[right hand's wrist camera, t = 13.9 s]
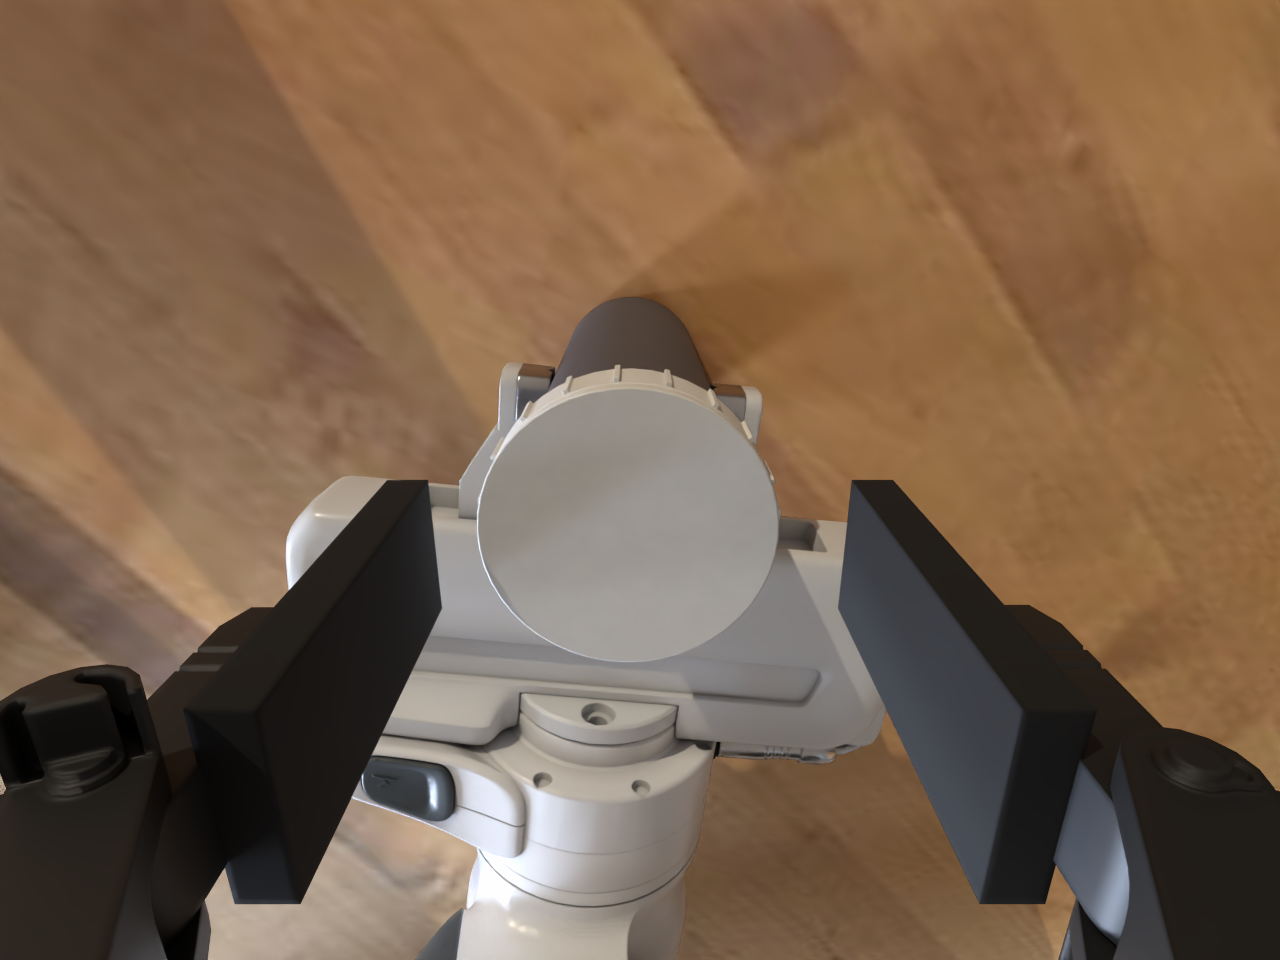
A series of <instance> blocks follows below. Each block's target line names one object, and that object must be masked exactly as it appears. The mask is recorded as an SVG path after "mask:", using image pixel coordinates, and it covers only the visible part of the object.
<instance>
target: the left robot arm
mask: <svg viewBox="0 0 1280 960" xmlns="http://www.w3.org/2000/svg"><path fill="white" fill-rule="evenodd" d="M554 377H555V367H550V366H542V365H534V364H525V363H518V362H507V364H506V365H505V367H504V368H503V369H502V374H501V380H500V390H499V415H498V422H497V424H496V425H495V427H494V428H493V430H492V431H491V433H490V434H489V436H488V437H487V439H486V440H485V442H484V443H483V445H482V446H481V448H480V449H479V450H478V452H477V453H476V455H475V456H474V458H473V459H472V461H471V463H470V464H469V466H468V468H467V469H466V471H465V473H464V474H463V476H462V477H461V479H460V481H459V485H448V484H438V483H428V484H429V493H430V502H431V511H432V521H433V530H434V539H435V548H436V557H437V566H438V575H439V584H440V593H441V603H442V610H441V612H440V614H439V616H438V618H437V620H436V622H435V624H434V627H433V629H432V631H431V633H430V635H429V637H428V639H427V641H426V643H425V645H424V647H423V649H422V652H421V654H420V656H419V658H418V660H417V662H416V664H415V666H414V668H413V670H412V672H411V674H410V677H409V679H408V681H407V683H406V685H405V687H404V689H403V691H402V693H401V695H400V697H399V700H398V702H397V704H396V706H395V708H394V710H393V712H392V714H391V716H390V718H389V720H388V722H387V725H386V727H385V729H384V731H383V733H382V735H381V737H380V739H379V741H378V743H377V745H376V747H375V750H374V752H373V754H372V756H371V758H370V760H369V762H368V764H367V766H366V768H365V770H364V772H363V775H362V777H361V779H360V781H359V783H358V785H357V787H356V789H355V791H354V793H353V795H352V797H351V798H353V799H356V800H359V801H362V802H365V803H368V804H371V805H374V806H378V807H381V808H384V809H387V810H390V811H393V812H396V813H398V814H401V815H404V816H407V817H410V818H412V819H415V820H418V821H421V822H423V823H425V824H428V825H430V826H433V827H435V828H438V829H440V830H442V831H444V832H447V833H449V834H451V835H453V836H455V837H457V838H459V839H461V840H463V841H465V842H467V843H469V844H471V845H473V846H475V847H476V848H477V851H478V856H477V859H476V861H475V864H474V866H473V870H472V873H471V877H470V882H469V889H468V896H467V910H464V909H463V908H461V909H460V910H459V911H458V912H456V913H455V914H454V915H453V916H452V917H451V918H449V919H448V920H447V921H446V923H445V924H444V925H443V926H442V927H441V928H440V929H439V930H438V931H437V933H436V934H435V935H434V936H433V938H432V939H431V940H430V942H429V943H428V944H427V945H426V947H425V948H424V949H423V950H422V952H421V953H420V954H419V955H418V957H417V958H416V959H415V960H676V958H677V954H678V950H679V945H680V940H681V935H682V930H683V925H684V920H685V910H686V887H685V880H684V876H683V875H684V874H685V872H686V870H687V868H688V867H689V865H690V863H691V861H692V859H693V856H694V853H695V850H696V847H697V844H698V841H699V835H700V829H701V824H702V818H703V812H704V807H705V801H706V796H707V790H708V785H709V780H710V775H711V768H712V762H713V759H715V756H716V757H726V758H738V759H751V760H764V759H765V760H768V759H771V758H772V759H778V758H779V759H787V760H797V762H799V763H804V764H814V765H818V764H828V763H832V762H833V761H834V760H835V756H836V755H840V754H846V753H849V752H853V751H855V750H857V749H859V748H861V747H863V746H867V745H870V744H872V743H873V742H874V740H875V739H876V738H877V736H878V734H879V732H880V730H881V727H882V723H883V720H884V716H885V713H886V708H885V706H884V704H883V702H882V700H881V697H880V695H879V693H878V691H877V689H876V687H875V685H874V683H873V681H872V679H871V677H870V674H869V672H868V670H867V668H866V666H865V664H864V662H863V660H862V658H861V656H860V654H859V652H858V649H857V647H856V645H855V643H854V641H853V639H852V637H851V635H850V633H849V631H848V629H847V627H846V624H845V622H844V620H843V618H842V616H841V614H840V612H839V610H838V603H839V593H840V584H841V575H842V566H843V557H844V548H845V539H846V530H847V522H837V521H826V520H816V519H805V518H795V517H784V516H780V515H781V511H780V509H779V506H778V511H779V540H778V545H777V551H776V556H775V559H774V562H773V565H772V568H771V571H770V574H769V576H768V578H767V580H766V582H765V584H764V586H763V588H762V589H761V591H760V592H759V594H758V595H757V597H756V598H755V600H754V601H753V603H752V604H751V605H750V607H749V608H748V609H747V610H746V611H745V612H744V613H743V615H742V616H741V617H740V618H739V619H738V620H736V621H735V622H734V623H733V624H732V625H731V626H730V627H729V628H727V629H726V630H725V631H723V632H722V633H720V634H719V635H717V636H716V637H714V638H713V639H711V640H709V641H708V642H706V643H704V644H702V645H700V646H698V647H696V648H694V649H691V650H689V651H686V652H683V653H681V654H678V655H674V656H670V657H666V658H663V659H657V660H650V661H642V662H617V661H606V660H600V659H595V658H590V657H586V656H583V655H580V654H576V653H573V652H570V651H568V650H566V649H563V648H561V647H559V646H556V645H554V644H553V643H551V642H549V641H547V640H546V639H544V638H542V637H541V636H539V635H538V634H536V633H535V632H534V631H532V630H531V629H530V628H528V627H527V626H526V625H524V624H523V623H522V622H521V621H520V620H519V619H518V618H517V617H516V616H515V615H514V614H513V613H512V612H511V611H510V610H509V608H508V607H507V606H506V605H505V603H504V602H503V601H502V600H501V598H500V597H499V595H498V593H497V592H496V590H495V588H494V587H493V585H492V583H491V581H490V579H489V577H488V574H487V572H486V570H485V568H484V565H483V561H482V558H481V554H480V550H479V544H478V536H477V510H478V503H477V501H478V497H479V495H480V493H481V490H482V487H483V484H484V481H485V478H486V475H487V473H488V471H489V469H490V467H491V465H492V463H493V461H494V460H492V459H490V457H491V455H492V453H493V452H494V450H495V448H496V446H497V444H498V442H499V440H500V439H501V437H503V438H506V436H507V434H508V433H509V432H510V430H511V429H512V427H513V426H514V424H515V423H516V421H517V420H518V419H519V418H520V417H521V415H522V413H523V411H524V409H525V407H526V405H527V403H528V402H529V401H531V402H532V403H533V404H534V403H535V402H536V401H537V400H538V399H539V398H541V397H542V396H543V395H545V394H546V393H548V391H549V388H550V386H551V384H552V381H553V379H554ZM710 388H711V389H712V390H713V391H714V392H715V395H716V397H717V399H719V400H720V401H721V402H722V403H723V404H724V405H725V406H726V407H728V408H729V409H730V410H731V411H732V412H733V413H734V414H735V416H736V417H737V418H738V419H739V421H740V422H743V421H744V420H745V421H746V423H747V424H748V426H749V428H750V430H751V432H752V434H753V437H754V439H755V441H754V444H755V446H756V444H757V438H758V432H759V426H760V421H761V415H762V395H761V393H760V392H759V390H758V389H757V387H749V386H741V385H729V384H718V383H711V384H710ZM387 480H396V479H386V478H376V477H366V476H354V475H353V476H344V477H342V478H340V479H338V480H337V481H335V482H334V483H333V484H332V485H330V486H329V487H328V488H327V489H326V490H324V491H323V492H322V493H321V494H320V495H318V496H317V497H316V498H315V499H314V500H313V501H312V502H311V503H310V504H309V505H308V506H307V507H306V508H305V510H304V511H303V512H302V513H301V514H300V515H299V517H298V518H297V519H296V521H295V522H294V524H293V525H292V527H291V529H290V531H289V534H288V537H287V542H286V567H287V579H288V588H289V590H290V589H291V587H292V586H293V585H294V584H295V583H296V582H297V581H298V580H299V578H300V577H301V576H302V575H303V574H304V573H305V572H306V571H307V570H308V568H309V567H310V566H311V565H312V564H313V563H314V562H315V561H316V559H317V558H318V557H319V556H320V555H321V554H322V553H323V552H324V550H325V549H326V548H327V547H328V546H329V545H330V544H331V543H332V541H333V540H334V539H335V538H336V537H337V536H338V535H339V534H340V532H341V531H342V530H343V529H344V528H345V527H346V526H347V525H348V523H349V522H350V521H351V520H352V519H353V518H354V517H355V516H356V514H357V513H358V512H359V511H360V510H361V509H362V508H363V507H364V505H365V504H366V503H367V502H368V501H369V500H370V499H371V498H372V496H373V495H374V494H375V493H376V492H377V491H378V490H379V489H380V487H381V486H382V485H383V484H384V483H385V482H386V481H387Z"/></svg>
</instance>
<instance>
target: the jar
mask: <svg viewBox="0 0 1280 960" xmlns="http://www.w3.org/2000/svg"><path fill="white" fill-rule="evenodd" d="M615 365H620V366H621V369H629V368H634V369H645V370H653V371H658V372H662V373H664V370H665V369H667V370H670V374H671V375H673V376H676V377H679V378H682V379H684V380H687V381H689V382H691V383H693V384H695V385H697V386H699V387H701V388H703V389H705V390H706V391H707V392H708V390H709V389H711V388H710V386H709V383H708V381H707V378H706V375H705V373H704V370H703V368H702V365H701V363H700V360H699V357H698V355H697V352H696V350H695V347H694V345H693V342H692V339H691V337H690V335H689V333H688V331H687V329H686V327H685V326H684V324H683V323H682V322H681V320H680V319H679V318H678V317H677V316H676V315H675V314H674V313H673V312H672V311H670V310H669V309H667V308H666V307H665V306H663V305H661V304H659V303H657V302H654V301H652V300H648V299H644V298H637V297H624V298H618V299H614V300H611V301H607V302H605V303H603V304H601V305H599V306H598V307H596V308H594V309H593V310H592V311H590V312H589V313H588V314H587V315H586V316H585V317H584V318H583V319H582V320H581V321H580V323H579V324H578V326H577V327H576V329H575V331H574V333H573V335H572V337H571V339H570V342H569V344H568V346H567V349H566V351H565V353H564V356H563V358H562V360H561V363H560V365H559V367H558V370H557V372H556V374H555V377H554V379H553V381H552V384H551V386H550V388H549V391H551V390H553V389H554V388H556V387H557V386H559V385H561V384H564V383H565V382H566V379H567V377H569V376H572V377H573V379H574V378H577V377H580V376H584V375H587V374H590V373H593V372H599V371H605V370H611V369H615ZM549 391H548V392H549Z"/></svg>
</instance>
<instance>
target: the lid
mask: <svg viewBox="0 0 1280 960" xmlns="http://www.w3.org/2000/svg"><path fill="white" fill-rule="evenodd" d="M754 441H755V439H754V437H753V434H752V432H751V430H750V428H749V426H748V424H747V423H746V421H745V420H744V421H743V422H740V421H739V419H738V418H737V417H736V416H735V414H734V413H733V412H732V411H731V410H730V409H729V408H728V407H726V406H725V405H724V404H723V403H722V402H721V401H720V400H719V399H717V397H716V395H715V392H714V391H713V390H712V389H709V390H708V392H707V391H706V390H705V389H703V388H701V387H699V386H697V385H695V384H693V383H691V382H689V381H687V380H684V379H682V378H679V377H676V376H673V375H671V374H670V370H667V369H665V370H664V373H662V372H658V371H653V370H645V369H634V368H629V369H621V366H620V365H615V369H611V370H605V371H599V372H593V373H590V374H587V375H584V376H580V377H577V378H574V379H573V377H572V376H569V377H567V379H566V382H565V383H564V384H561V385H559V386H557V387H556V388H554V389H553V390H551V391H549V392H548V393H546V394H545V395H543V396H542V397H541V398H539V399H538V400H537V401H536V402H535V403H534V404H533V403H532V402H531V401H529V402H528V403H527V405H526V407H525V409H524V411H523V413H522V415H521V417H520V418H519V419H518V420H517V421H516V423H515V424H514V426H513V427H512V429H511V430H510V432H509V433H508V434H507V436H506V438H503V437H501V439H500V440H499V442H498V444H497V446H496V448H495V450H494V452H493V453H492V455H491V457H490V459H492V460H494V461H493V463H492V465H491V467H490V469H489V471H488V473H487V475H486V478H485V481H484V484H483V487H482V490H481V493H480V495H479V497H478V501H477V503H478V510H477V536H478V544H479V550H480V554H481V558H482V561H483V565H484V568H485V570H486V572H487V574H488V577H489V579H490V581H491V583H492V585H493V587H494V588H495V590H496V592H497V593H498V595H499V597H500V598H501V600H502V601H503V602H504V603H505V605H506V606H507V607H508V608H509V610H510V611H511V612H512V613H513V614H514V615H515V616H516V617H517V618H518V619H519V620H520V621H521V622H522V623H523V624H524V625H526V626H527V627H528V628H530V629H531V630H532V631H534V632H535V633H536V634H538V635H539V636H541V637H542V638H544V639H546V640H547V641H549V642H551V643H553V644H554V645H556V646H559V647H561V648H563V649H566V650H568V651H570V652H573V653H576V654H580V655H583V656H586V657H590V658H595V659H600V660H606V661H617V662H642V661H650V660H657V659H663V658H666V657H670V656H674V655H678V654H681V653H683V652H686V651H689V650H691V649H694V648H696V647H698V646H700V645H702V644H704V643H706V642H708V641H709V640H711V639H713V638H714V637H716V636H717V635H719V634H720V633H722V632H723V631H725V630H726V629H727V628H729V627H730V626H731V625H732V624H733V623H734V622H735V621H736V620H738V619H739V618H740V617H741V616H742V615H743V613H744V612H745V611H746V610H747V609H748V608H749V607H750V605H751V604H752V603H753V601H754V600H755V598H756V597H757V595H758V594H759V592H760V591H761V589H762V588H763V586H764V584H765V582H766V580H767V578H768V576H769V574H770V571H771V568H772V565H773V562H774V559H775V556H776V551H777V545H778V540H779V511H778V502H777V498H776V494H775V491H774V487H773V484H776V483H775V480H774V477H773V475H772V473H771V471H770V469H769V467H768V465H767V463H766V461H762V458H761V456H760V454H759V452H758V450H757V448H756V446H755V444H754Z"/></svg>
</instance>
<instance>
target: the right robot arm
mask: <svg viewBox="0 0 1280 960" xmlns="http://www.w3.org/2000/svg"><path fill="white" fill-rule="evenodd" d="M441 610H442V603H441V593H440V584H439V575H438V566H437V557H436V548H435V539H434V530H433V521H432V511H431V502H430V493H429V484H428V480H387V481H386V482H385V483H384V484H383V485H382V486H381V487H380V489H379V490H378V491H377V492H376V493H375V494H374V495H373V496H372V498H371V499H370V500H369V501H368V502H367V503H366V504H365V505H364V507H363V508H362V509H361V510H360V511H359V512H358V513H357V514H356V516H355V517H354V518H353V519H352V520H351V521H350V522H349V523H348V525H347V526H346V527H345V528H344V529H343V530H342V531H341V532H340V534H339V535H338V536H337V537H336V538H335V539H334V540H333V541H332V543H331V544H330V545H329V546H328V547H327V548H326V549H325V550H324V552H323V553H322V554H321V555H320V556H319V557H318V558H317V559H316V561H315V562H314V563H313V564H312V565H311V566H310V567H309V568H308V570H307V571H306V572H305V573H304V574H303V575H302V576H301V577H300V578H299V580H298V581H297V582H296V583H295V584H294V585H293V586H292V587H291V589H290V590H289V591H288V592H287V593H286V594H285V595H284V596H283V598H282V599H281V600H280V601H279V602H278V603H277V604H276V605H275V607H252V608H250V609H248V610H246V611H245V612H243V613H241V614H240V615H238V616H236V617H234V618H233V619H231V620H229V621H227V622H226V623H224V624H222V625H221V626H219V627H218V628H217V629H216V630H215V631H214V632H213V633H212V634H211V635H210V636H209V637H208V638H207V639H206V640H205V641H204V642H203V643H202V644H201V646H200V647H199V648H198V652H197V653H193V654H192V655H191V656H190V657H189V658H188V659H187V660H186V661H185V662H184V663H183V664H182V665H181V666H180V670H179V671H175V672H174V673H173V674H172V675H171V676H170V677H169V678H168V679H167V680H166V681H165V682H164V683H163V684H162V685H161V686H160V687H159V688H158V690H157V691H156V692H155V693H154V694H153V695H152V696H151V697H150V698H149V699H148V700H147V699H146V695H145V692H144V688H143V685H142V681H141V678H140V675H139V674H137V673H136V672H134V671H133V670H131V669H130V668H128V667H123V666H115V665H97V666H88V667H80V668H76V669H72V670H69V671H65V672H61V673H58V674H54V675H50V676H48V677H46V678H43V679H41V680H39V681H36V682H34V683H32V684H29V685H27V686H25V687H23V688H20V689H19V690H17V691H16V692H14V693H12V694H11V695H9V696H8V697H6V698H5V699H3V700H2V701H0V774H1V777H2V779H3V782H4V784H5V787H6V790H5V792H4V794H2V795H0V960H207V959H208V951H209V943H210V935H211V927H210V921H209V914H208V911H207V907H206V904H205V899H206V897H207V895H208V894H209V892H210V890H211V889H212V887H213V886H214V884H215V882H216V881H217V879H218V877H219V876H220V874H221V873H222V871H223V869H224V868H225V869H226V873H227V877H228V880H229V884H230V888H231V892H232V895H233V899H234V903H235V904H301V902H302V900H303V898H304V895H305V893H306V891H307V889H308V887H309V885H310V883H311V881H312V879H313V877H314V875H315V873H316V870H317V868H318V866H319V864H320V862H321V860H322V858H323V856H324V854H325V852H326V850H327V848H328V845H329V843H330V841H331V839H332V837H333V835H334V833H335V831H336V829H337V827H338V825H339V823H340V820H341V818H342V816H343V814H344V812H345V810H346V808H347V806H348V804H349V802H350V800H351V797H352V795H353V793H354V791H355V789H356V787H357V785H358V783H359V781H360V779H361V777H362V775H363V772H364V770H365V768H366V766H367V764H368V762H369V760H370V758H371V756H372V754H373V752H374V750H375V747H376V745H377V743H378V741H379V739H380V737H381V735H382V733H383V731H384V729H385V727H386V725H387V722H388V720H389V718H390V716H391V714H392V712H393V710H394V708H395V706H396V704H397V702H398V700H399V697H400V695H401V693H402V691H403V689H404V687H405V685H406V683H407V681H408V679H409V677H410V674H411V672H412V670H413V668H414V666H415V664H416V662H417V660H418V658H419V656H420V654H421V652H422V649H423V647H424V645H425V643H426V641H427V639H428V637H429V635H430V633H431V631H432V629H433V627H434V624H435V622H436V620H437V618H438V616H439V614H440V612H441ZM838 610H839V612H840V614H841V616H842V618H843V620H844V622H845V624H846V627H847V629H848V631H849V633H850V635H851V637H852V639H853V641H854V643H855V645H856V647H857V649H858V652H859V654H860V656H861V658H862V660H863V662H864V664H865V666H866V668H867V670H868V672H869V674H870V677H871V679H872V681H873V683H874V685H875V687H876V689H877V691H878V693H879V695H880V697H881V700H882V702H883V704H884V706H885V708H886V710H887V712H888V714H889V716H890V718H891V720H892V722H893V725H894V727H895V729H896V731H897V733H898V735H899V737H900V739H901V741H902V743H903V745H904V747H905V750H906V752H907V754H908V756H909V758H910V760H911V762H912V764H913V766H914V768H915V770H916V772H917V775H918V777H919V779H920V781H921V783H922V785H923V787H924V789H925V791H926V793H927V795H928V797H929V800H930V802H931V804H932V806H933V808H934V810H935V812H936V814H937V816H938V818H939V820H940V823H941V825H942V827H943V829H944V831H945V833H946V835H947V837H948V839H949V841H950V843H951V845H952V848H953V850H954V852H955V854H956V856H957V858H958V860H959V862H960V864H961V866H962V868H963V870H964V873H965V875H966V877H967V879H968V881H969V883H970V885H971V887H972V889H973V891H974V893H975V895H976V898H977V900H978V902H979V904H1045V903H1046V899H1047V895H1048V892H1049V888H1050V884H1051V880H1052V877H1053V873H1054V869H1055V866H1057V867H1058V869H1059V870H1060V872H1061V874H1062V875H1063V877H1064V878H1065V880H1066V882H1067V883H1068V885H1069V886H1070V888H1071V890H1072V891H1073V893H1074V894H1075V896H1076V900H1075V904H1074V907H1073V911H1072V914H1071V918H1070V921H1069V925H1068V928H1067V932H1066V935H1065V938H1064V942H1063V945H1062V949H1061V952H1060V956H1059V959H1058V960H1280V791H1276V790H1275V789H1274V787H1273V786H1272V785H1271V783H1270V782H1269V781H1268V780H1267V778H1266V777H1265V776H1264V774H1263V773H1262V772H1261V771H1260V770H1259V769H1258V768H1257V767H1255V766H1254V765H1253V764H1251V763H1250V762H1249V761H1247V760H1246V759H1245V758H1243V757H1242V756H1241V755H1239V754H1238V753H1237V752H1235V751H1233V750H1231V749H1229V748H1227V747H1225V746H1223V745H1221V744H1219V743H1217V742H1215V741H1213V740H1211V739H1209V738H1206V737H1202V736H1199V735H1196V734H1193V733H1190V732H1186V731H1183V730H1180V729H1172V728H1164V727H1162V726H1161V725H1160V724H1159V722H1158V721H1157V720H1156V719H1155V718H1154V717H1153V716H1152V715H1151V714H1150V713H1149V712H1148V711H1147V710H1146V709H1145V708H1144V707H1143V706H1142V705H1141V704H1140V703H1139V702H1138V701H1137V700H1136V699H1135V698H1134V697H1133V696H1132V695H1131V694H1130V693H1129V692H1128V691H1127V690H1126V689H1125V688H1124V687H1123V686H1122V685H1121V684H1120V683H1119V682H1118V681H1117V680H1116V679H1115V678H1114V677H1113V676H1112V675H1111V674H1110V673H1109V672H1108V671H1107V670H1106V669H1102V668H1101V664H1100V663H1099V662H1098V661H1097V660H1096V659H1095V657H1094V656H1093V655H1092V654H1091V653H1090V652H1089V651H1088V650H1083V645H1082V644H1081V643H1080V642H1079V641H1078V640H1077V639H1076V638H1075V637H1074V636H1073V635H1072V634H1071V633H1070V632H1069V631H1068V630H1067V629H1066V628H1065V627H1064V626H1063V625H1062V624H1061V623H1059V622H1057V621H1056V620H1054V619H1052V618H1050V617H1049V616H1047V615H1045V614H1044V613H1042V612H1040V611H1038V610H1037V609H1035V608H1033V607H1031V606H1030V605H1004V604H1003V603H1002V602H1001V601H1000V600H999V599H998V598H997V596H996V595H995V594H994V593H993V592H992V591H991V590H990V589H989V587H988V586H987V585H986V584H985V583H984V582H983V581H982V580H981V578H980V577H979V576H978V575H977V574H976V573H975V572H974V571H973V570H972V568H971V567H970V566H969V565H968V564H967V563H966V562H965V561H964V559H963V558H962V557H961V556H960V555H959V554H958V553H957V552H956V550H955V549H954V548H953V547H952V546H951V545H950V544H949V543H948V541H947V540H946V539H945V538H944V537H943V536H942V535H941V534H940V532H939V531H938V530H937V529H936V528H935V527H934V526H933V525H932V523H931V522H930V521H929V520H928V519H927V518H926V517H925V516H924V514H923V513H922V512H921V511H920V510H919V509H918V508H917V507H916V505H915V504H914V503H913V502H912V501H911V500H910V499H909V498H908V496H907V495H906V494H905V493H904V492H903V491H902V490H901V489H900V487H899V486H898V485H897V484H896V483H895V482H894V481H893V480H852V484H851V493H850V502H849V511H848V521H847V530H846V539H845V548H844V557H843V566H842V575H841V584H840V593H839V603H838Z"/></svg>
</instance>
